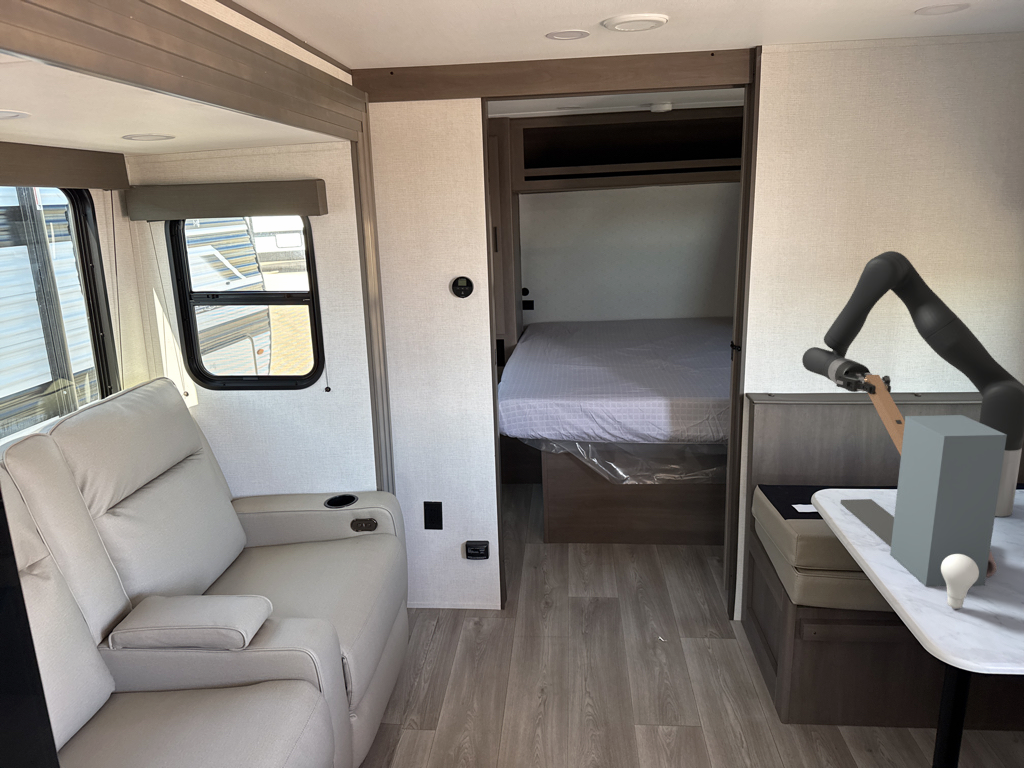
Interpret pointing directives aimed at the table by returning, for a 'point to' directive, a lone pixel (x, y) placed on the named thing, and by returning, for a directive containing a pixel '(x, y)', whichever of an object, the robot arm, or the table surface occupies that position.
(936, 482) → the tall grey-blue box
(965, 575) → the lightbulb
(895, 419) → the wooden plank with hole
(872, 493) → the table surface
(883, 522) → the rubber mat
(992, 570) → the coil
